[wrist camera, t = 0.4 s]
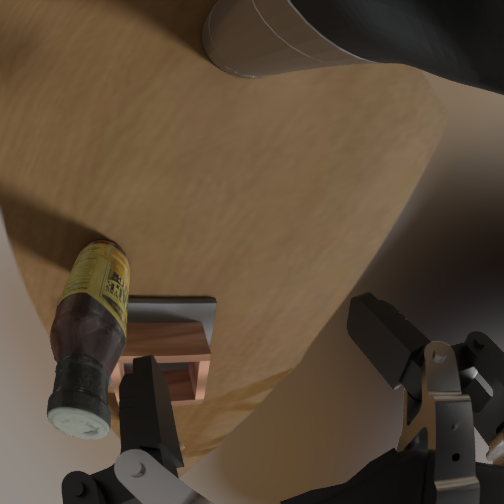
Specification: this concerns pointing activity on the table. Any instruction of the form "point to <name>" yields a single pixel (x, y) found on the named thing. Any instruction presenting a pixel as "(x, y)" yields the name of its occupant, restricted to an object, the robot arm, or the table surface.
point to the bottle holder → (170, 343)
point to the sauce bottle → (89, 340)
